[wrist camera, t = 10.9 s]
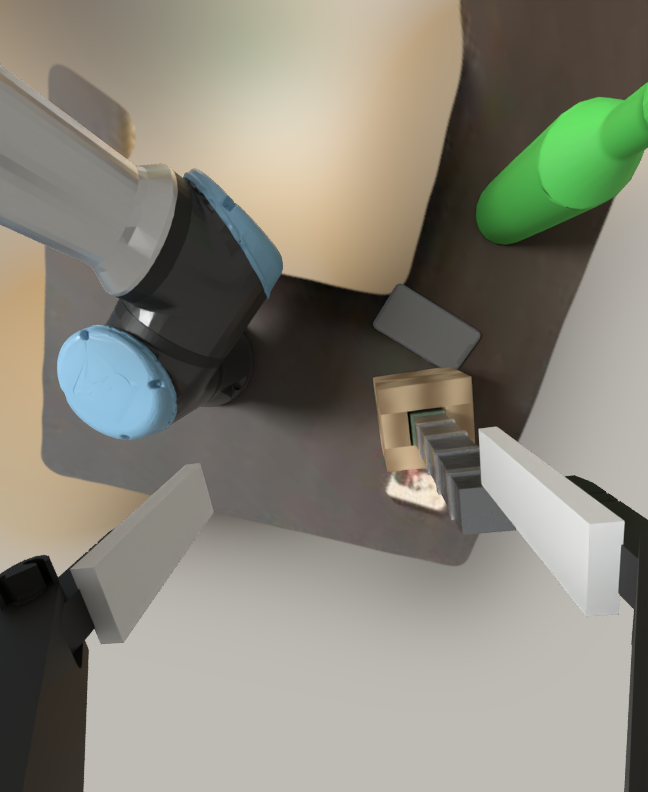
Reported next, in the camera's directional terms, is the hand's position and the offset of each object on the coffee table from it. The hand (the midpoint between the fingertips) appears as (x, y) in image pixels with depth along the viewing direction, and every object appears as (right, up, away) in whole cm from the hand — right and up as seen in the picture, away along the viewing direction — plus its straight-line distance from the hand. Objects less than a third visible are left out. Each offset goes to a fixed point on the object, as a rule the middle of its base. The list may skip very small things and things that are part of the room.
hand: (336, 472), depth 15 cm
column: (+14, 0, +31) cm, 34 cm away
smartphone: (+15, +14, +34) cm, 40 cm away
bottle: (+25, +29, +29) cm, 48 cm away
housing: (+14, +2, +36) cm, 39 cm away
